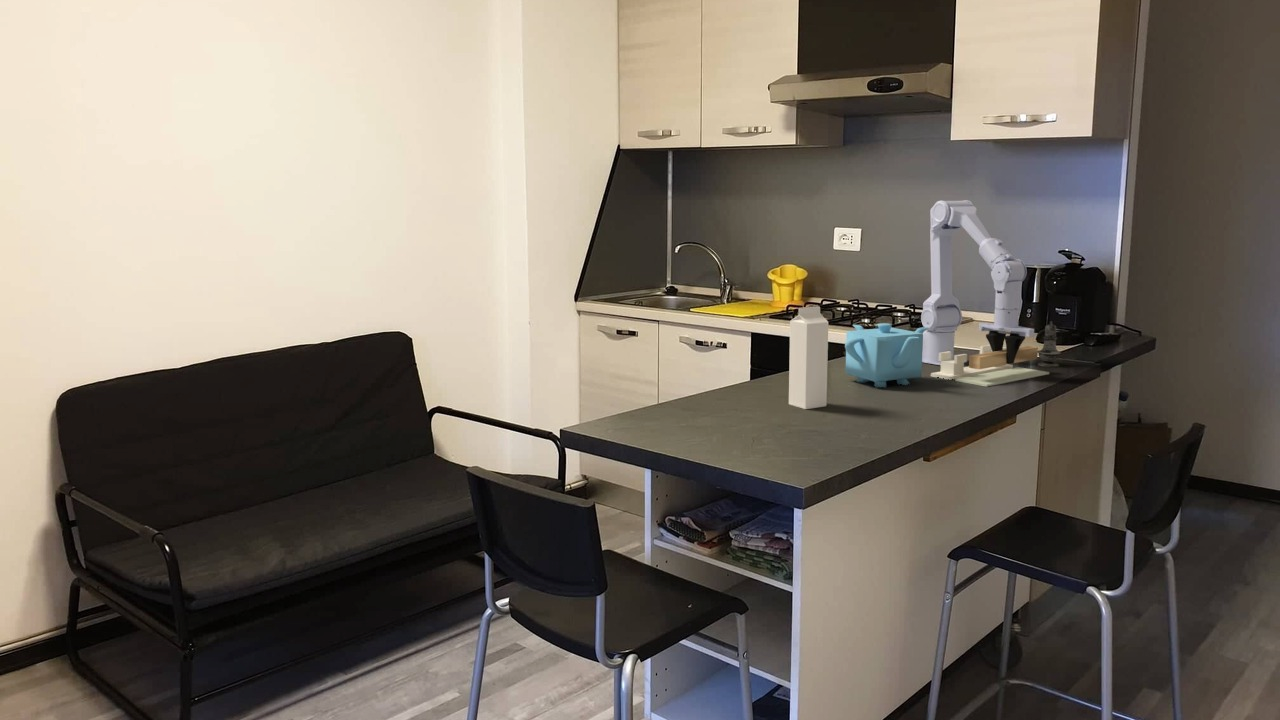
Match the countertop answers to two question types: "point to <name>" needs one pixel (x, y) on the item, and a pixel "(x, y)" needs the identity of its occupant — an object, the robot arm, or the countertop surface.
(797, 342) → the milk
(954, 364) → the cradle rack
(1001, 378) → the sage mat
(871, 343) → the teakettle
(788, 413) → the countertop surface
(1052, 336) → the grey chess piece
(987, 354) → the oak bar
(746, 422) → the countertop surface
